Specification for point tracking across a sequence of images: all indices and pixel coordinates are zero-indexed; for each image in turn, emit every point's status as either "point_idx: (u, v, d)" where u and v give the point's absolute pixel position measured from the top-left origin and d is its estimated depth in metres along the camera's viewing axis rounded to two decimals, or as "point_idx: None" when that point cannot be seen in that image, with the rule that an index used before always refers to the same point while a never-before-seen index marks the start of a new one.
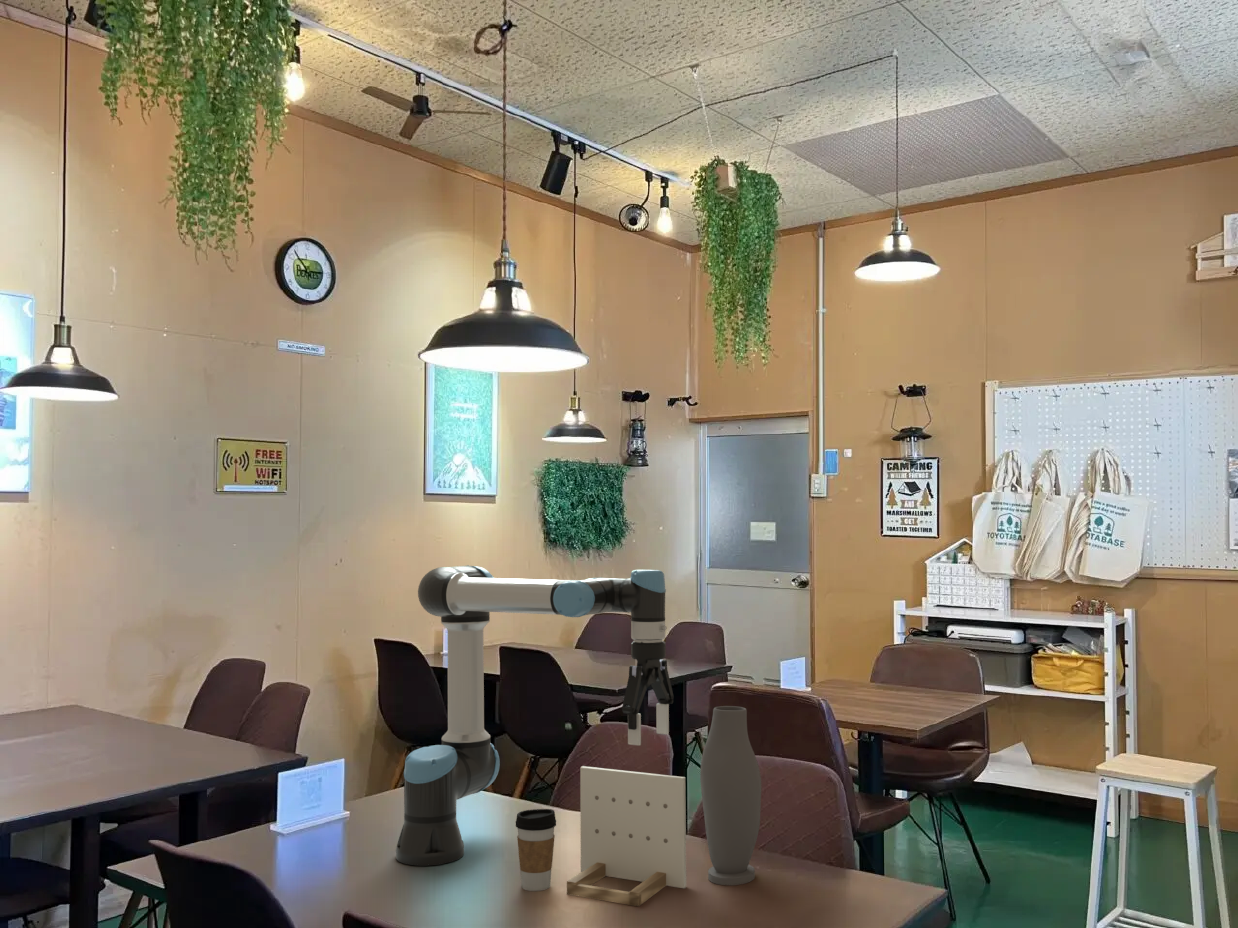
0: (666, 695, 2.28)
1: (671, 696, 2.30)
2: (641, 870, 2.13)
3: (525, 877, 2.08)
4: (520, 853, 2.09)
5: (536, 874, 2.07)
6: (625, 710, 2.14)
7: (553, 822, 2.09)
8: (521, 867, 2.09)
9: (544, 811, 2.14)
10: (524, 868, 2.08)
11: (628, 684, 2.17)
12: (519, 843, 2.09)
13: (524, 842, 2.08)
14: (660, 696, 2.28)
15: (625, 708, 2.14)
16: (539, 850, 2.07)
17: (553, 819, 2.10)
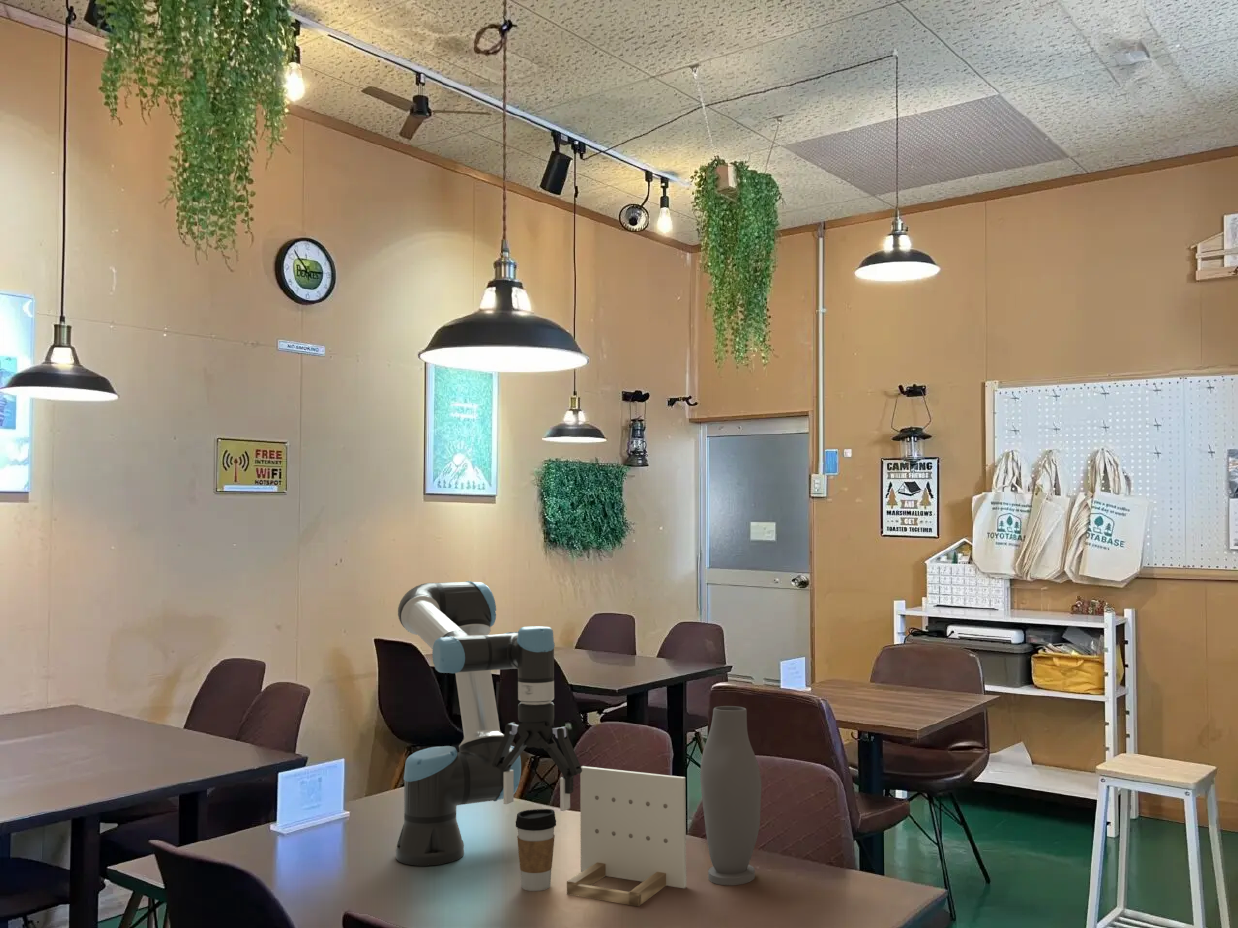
0: (560, 767, 2.08)
1: (571, 771, 2.07)
2: (641, 870, 2.13)
3: (525, 877, 2.08)
4: (520, 853, 2.09)
5: (536, 874, 2.07)
6: None
7: (553, 822, 2.09)
8: (521, 867, 2.09)
9: (544, 811, 2.14)
10: (524, 868, 2.08)
11: None
12: (519, 843, 2.09)
13: (524, 842, 2.08)
14: None
15: None
16: (539, 850, 2.07)
17: (553, 819, 2.10)
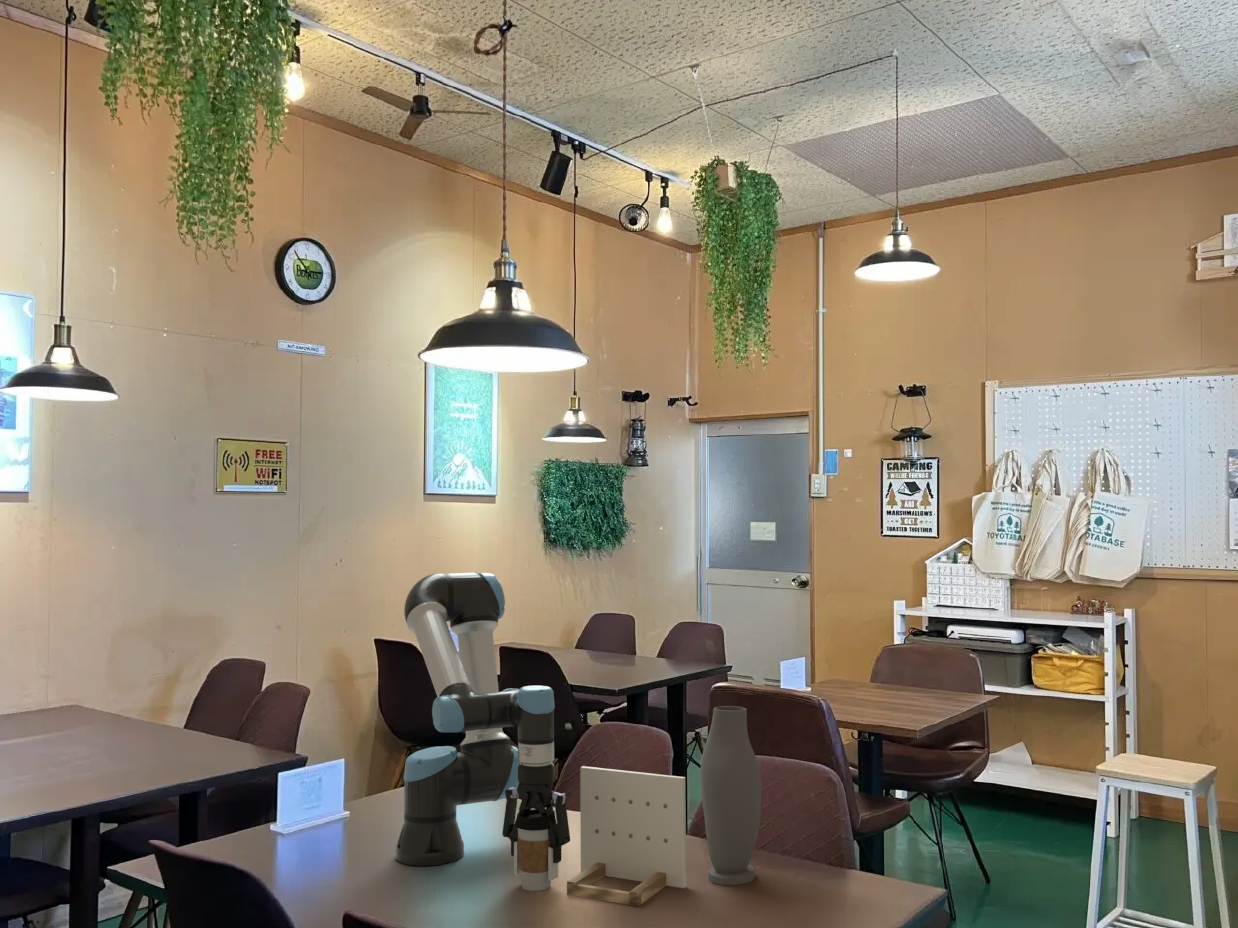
0: (550, 835, 2.08)
1: (560, 840, 2.07)
2: (641, 870, 2.13)
3: (525, 877, 2.08)
4: (520, 853, 2.09)
5: (536, 874, 2.07)
6: None
7: (553, 822, 2.10)
8: (521, 867, 2.09)
9: None
10: (524, 868, 2.08)
11: None
12: (519, 843, 2.09)
13: (524, 842, 2.08)
14: None
15: None
16: (539, 850, 2.07)
17: (553, 819, 2.10)
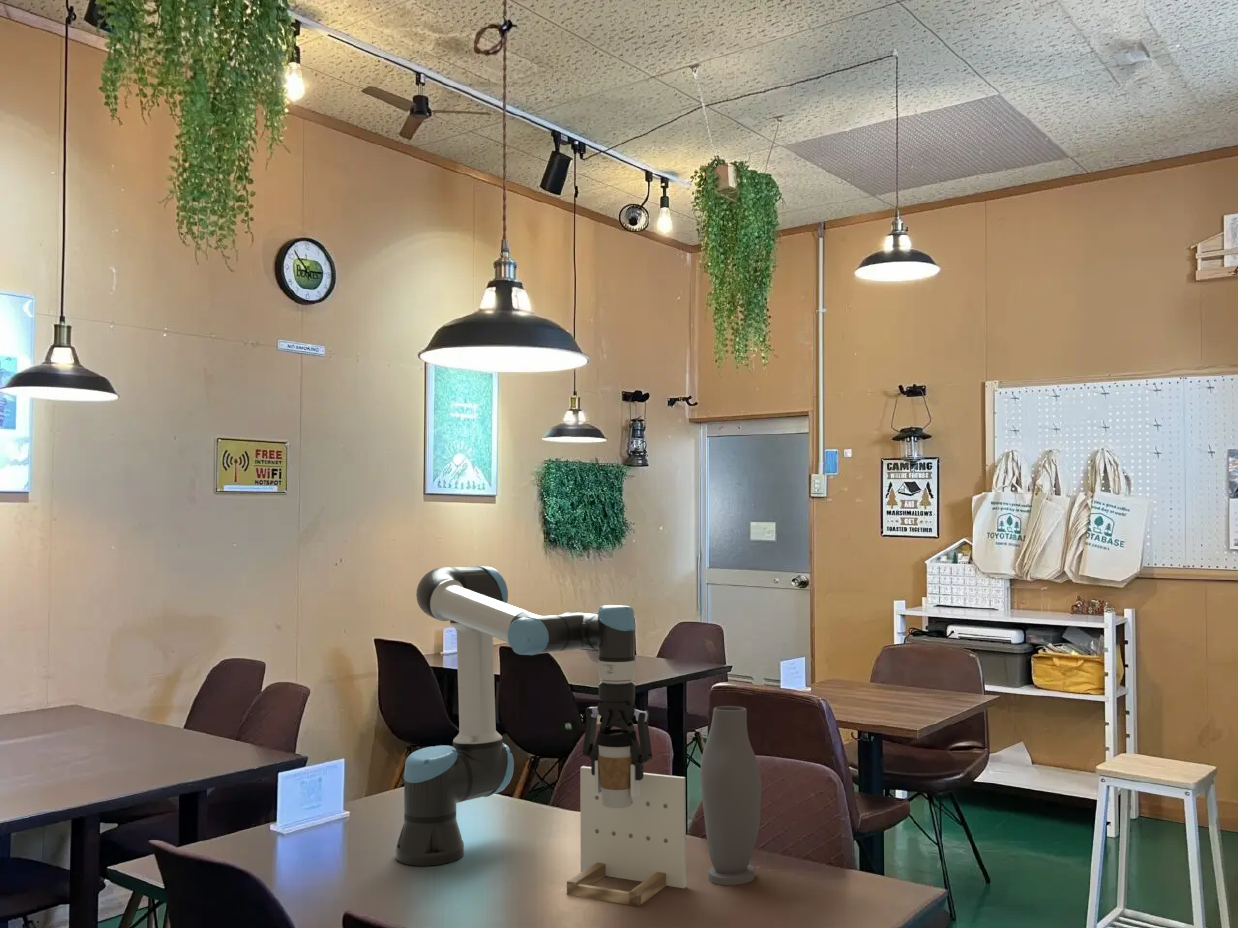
0: (632, 752, 2.07)
1: (642, 757, 2.06)
2: (641, 870, 2.13)
3: (607, 794, 2.07)
4: (602, 770, 2.08)
5: (619, 791, 2.06)
6: None
7: (635, 740, 2.09)
8: (603, 785, 2.08)
9: None
10: (606, 785, 2.07)
11: None
12: (601, 760, 2.08)
13: (606, 759, 2.07)
14: None
15: None
16: (621, 767, 2.06)
17: (635, 737, 2.09)
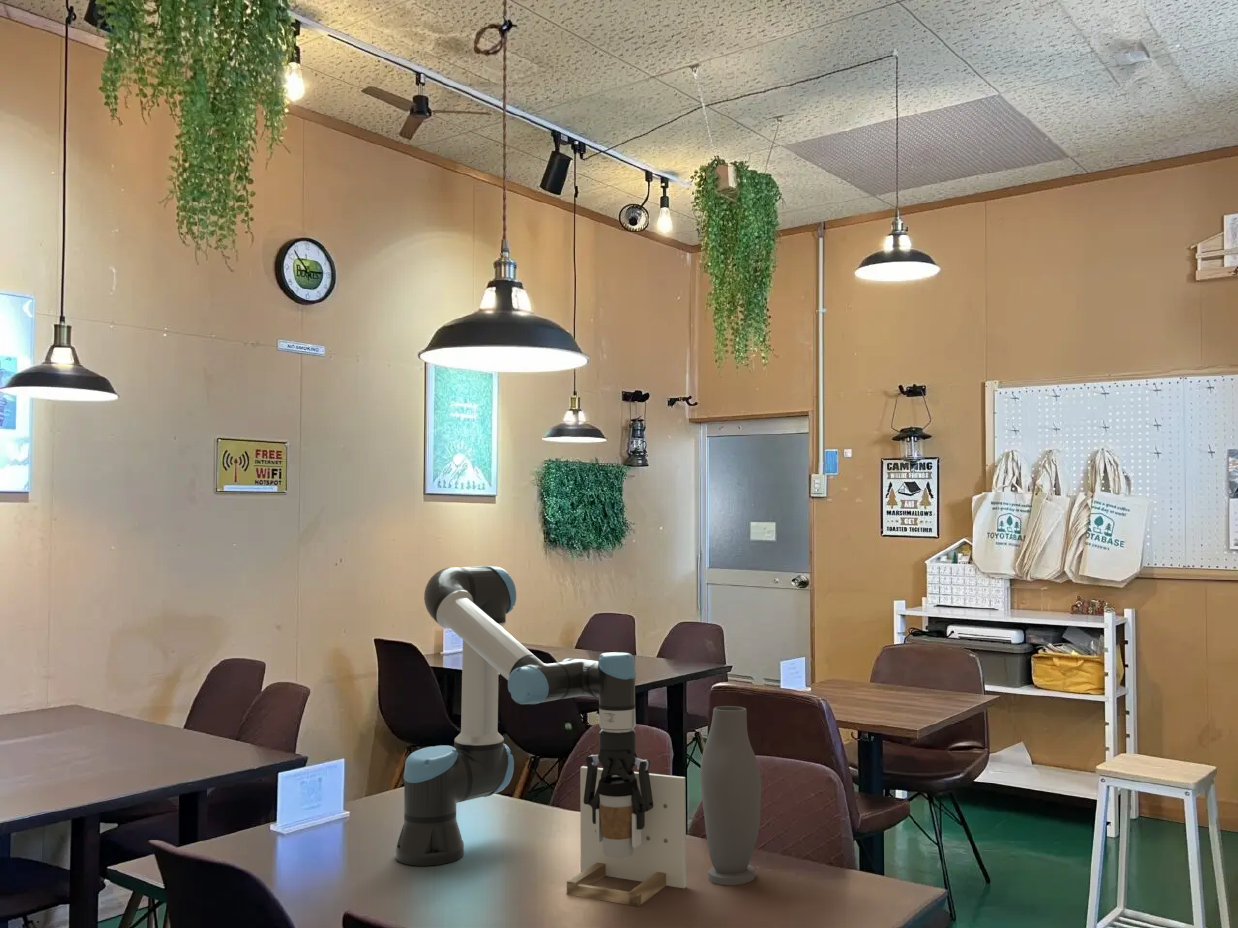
0: (634, 801, 2.07)
1: (643, 806, 2.06)
2: (641, 870, 2.13)
3: (608, 843, 2.06)
4: (603, 820, 2.07)
5: (620, 840, 2.06)
6: None
7: (636, 788, 2.08)
8: (604, 834, 2.07)
9: None
10: (607, 835, 2.07)
11: None
12: (602, 810, 2.08)
13: (607, 809, 2.06)
14: None
15: None
16: (623, 816, 2.06)
17: (636, 785, 2.08)
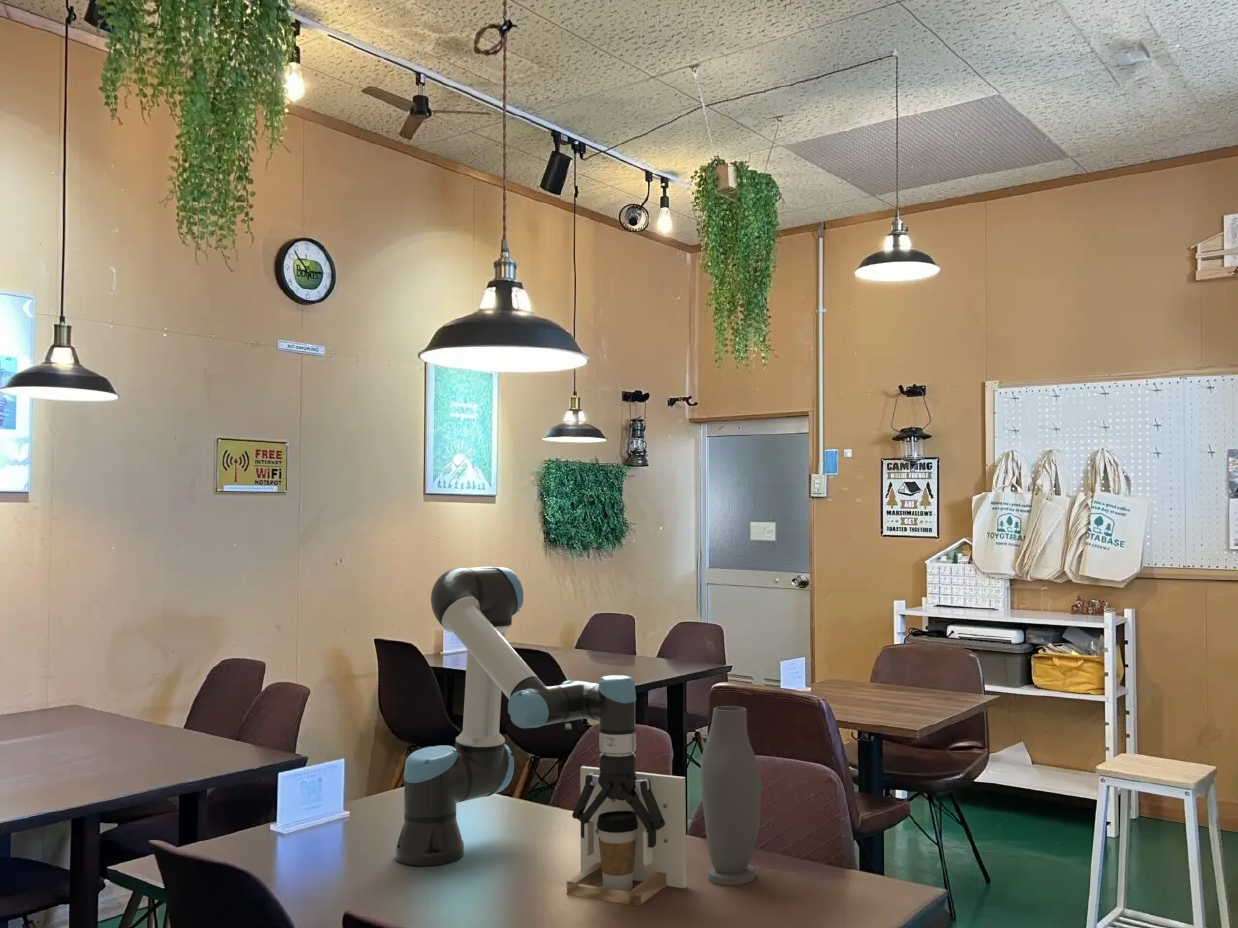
0: (643, 821, 2.06)
1: (655, 825, 2.04)
2: (641, 870, 2.13)
3: (608, 879, 2.06)
4: (602, 855, 2.07)
5: (620, 876, 2.05)
6: None
7: (635, 824, 2.08)
8: (603, 870, 2.07)
9: (625, 813, 2.12)
10: (607, 871, 2.06)
11: None
12: (601, 845, 2.07)
13: (607, 845, 2.06)
14: None
15: None
16: (622, 852, 2.05)
17: (635, 821, 2.08)
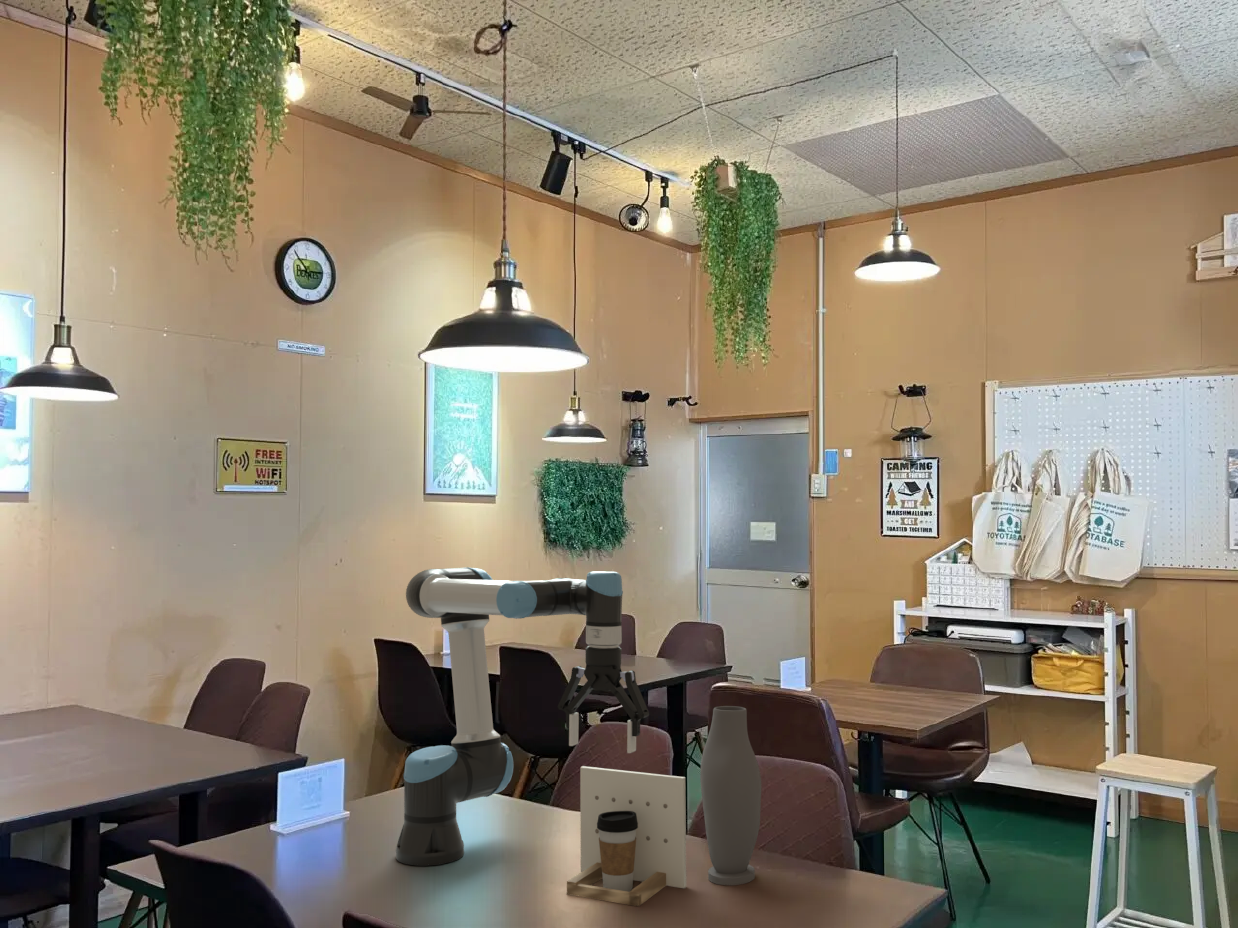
0: (628, 710, 2.10)
1: (639, 714, 2.09)
2: (641, 870, 2.13)
3: (608, 879, 2.06)
4: (602, 855, 2.07)
5: (620, 876, 2.05)
6: None
7: (635, 824, 2.08)
8: (603, 870, 2.07)
9: (625, 813, 2.12)
10: (607, 871, 2.06)
11: None
12: (601, 845, 2.07)
13: (607, 844, 2.06)
14: None
15: None
16: (622, 852, 2.05)
17: (635, 821, 2.08)
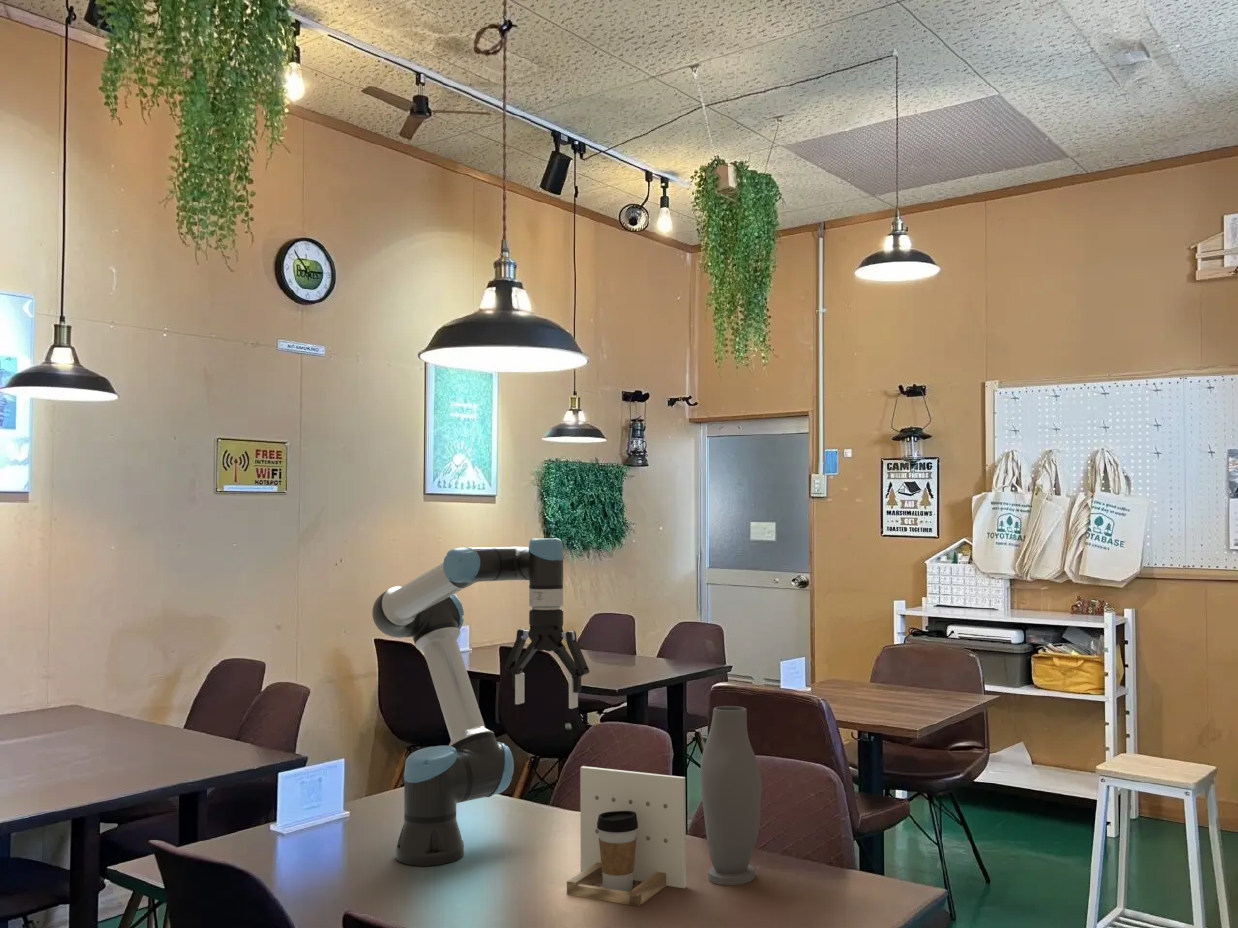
0: (569, 668, 2.21)
1: (579, 671, 2.20)
2: (641, 870, 2.13)
3: (608, 879, 2.06)
4: (602, 855, 2.07)
5: (620, 876, 2.06)
6: None
7: (635, 824, 2.08)
8: (604, 869, 2.07)
9: (625, 813, 2.12)
10: (607, 871, 2.06)
11: None
12: (601, 845, 2.07)
13: (607, 844, 2.06)
14: None
15: None
16: (622, 852, 2.05)
17: (635, 821, 2.08)
